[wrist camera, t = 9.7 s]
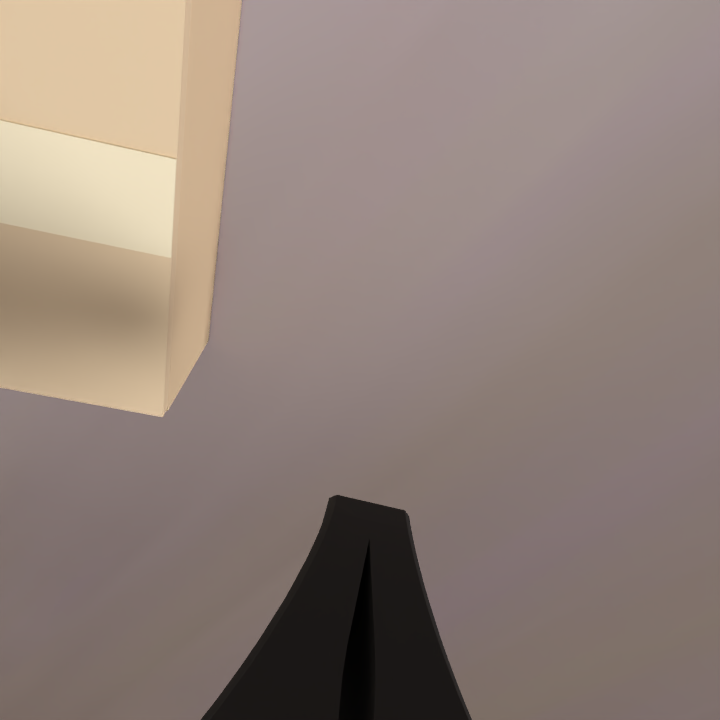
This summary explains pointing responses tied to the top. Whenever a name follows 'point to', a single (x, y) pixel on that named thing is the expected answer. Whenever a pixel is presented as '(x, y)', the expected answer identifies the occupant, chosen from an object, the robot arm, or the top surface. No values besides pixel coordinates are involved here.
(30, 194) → the lid
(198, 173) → the carton
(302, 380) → the top surface
